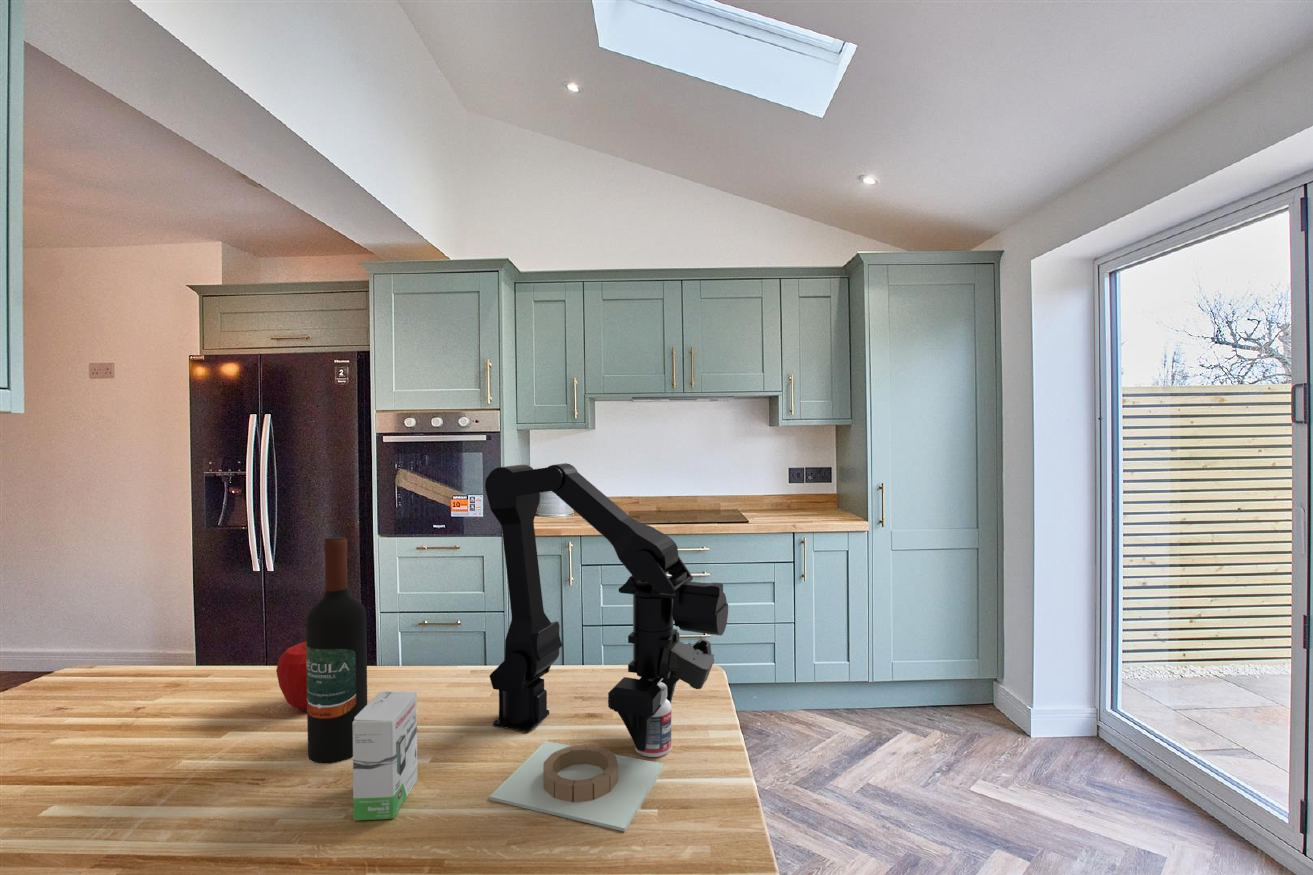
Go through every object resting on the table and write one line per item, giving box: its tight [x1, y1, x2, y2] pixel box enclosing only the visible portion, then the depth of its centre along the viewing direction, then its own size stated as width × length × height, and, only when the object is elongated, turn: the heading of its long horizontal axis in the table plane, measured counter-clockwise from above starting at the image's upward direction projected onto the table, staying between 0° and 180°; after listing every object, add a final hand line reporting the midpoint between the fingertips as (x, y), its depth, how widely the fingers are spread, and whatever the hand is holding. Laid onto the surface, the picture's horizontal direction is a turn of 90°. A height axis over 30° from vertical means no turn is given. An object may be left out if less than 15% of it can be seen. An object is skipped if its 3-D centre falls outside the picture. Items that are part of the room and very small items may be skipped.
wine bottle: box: [305, 536, 368, 765], centre depth 88 cm, size 8×8×30 cm
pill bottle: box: [634, 682, 672, 758], centre depth 89 cm, size 5×5×9 cm
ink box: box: [352, 690, 418, 821], centre depth 77 cm, size 9×5×12 cm, turn 2°
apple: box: [275, 641, 307, 712], centre depth 102 cm, size 10×10×11 cm
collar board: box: [488, 740, 665, 832], centre depth 80 cm, size 18×14×2 cm
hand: (652, 733), depth 89 cm, fingers open, 9 cm apart
